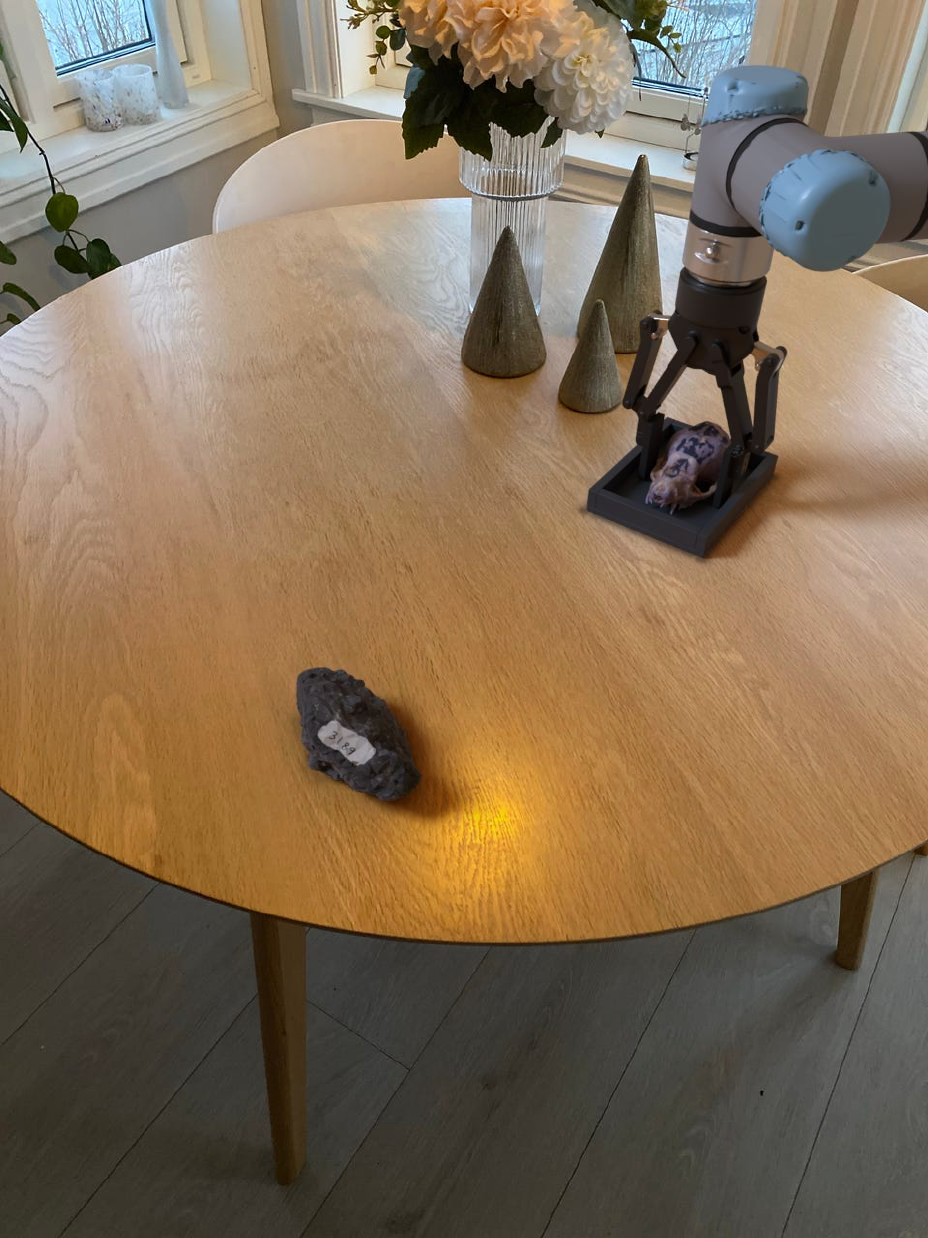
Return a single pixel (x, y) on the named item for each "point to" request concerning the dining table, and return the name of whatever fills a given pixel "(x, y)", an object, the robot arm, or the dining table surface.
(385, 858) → the dining table surface
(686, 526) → the tray
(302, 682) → the rock
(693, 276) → the robot arm
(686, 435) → the skull
